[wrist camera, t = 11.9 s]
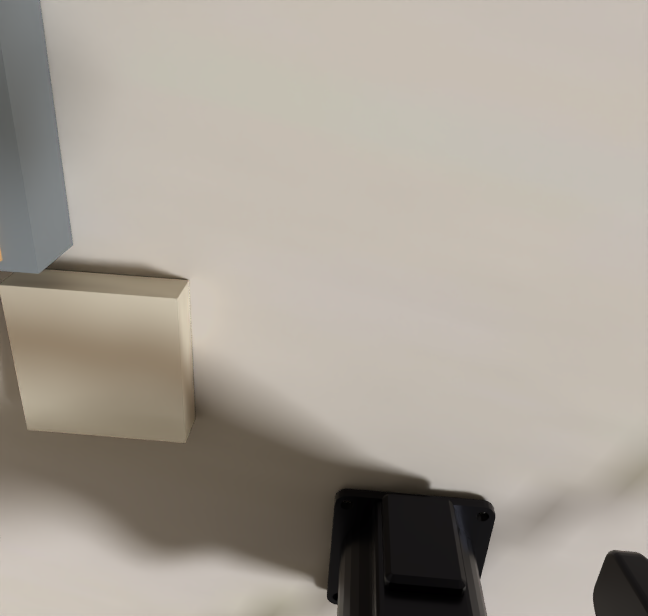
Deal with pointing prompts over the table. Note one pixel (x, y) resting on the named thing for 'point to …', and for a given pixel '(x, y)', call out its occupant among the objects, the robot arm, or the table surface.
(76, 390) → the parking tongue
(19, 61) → the hole plate
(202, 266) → the table surface
